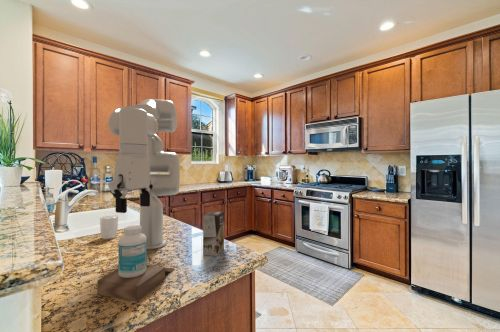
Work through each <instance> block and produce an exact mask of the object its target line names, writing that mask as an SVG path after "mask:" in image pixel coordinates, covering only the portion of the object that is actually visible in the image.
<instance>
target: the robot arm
mask: <svg viewBox="0 0 500 332" xmlns="http://www.w3.org/2000/svg"><path fill="white" fill-rule="evenodd" d="M108 117H109V118H108V125H107V126H108V129H109V131H110V132H111V134H113V135H115V136H117V137H118V136H119V138H118V139H119V141H118V142H119V143H118V144H119V147H118V148H119V149H118V150H119V154H118V155H116V159H115V160H116V161H115V163H114V164H115V165H114V174H113V179H112V180H111V181H109V182H108V184H107V186H108V189H109V190H110V194H111V195H112V196H113V199H115V213H118V214H125V213H127V211H128V207H127V205H128V200H127V199H128V198H126V196H127V194H128V193H129V191H131V192H132V191H138V195H139V226H141V228H142V231H141V233H143V234H144V235H145V236H146V240H147V246H146V249H147V251H148V250H155V249H160V248H163V247H164V246H166V245H167V240H166V239H165V238H164V233H163V231H164V205H163V202H162V201H161V200H160V198H159V196H160V197H161V196H163V197H164V196H176V195H178V193H179V192H180V183H181V182H180V181H181V180H180V175H181V174H180V171H181V170H180V169H181V167H180V158H179V155H178V154H177V153H176V152H171V151H164V141H163V140H162V139H161V137H159V135H157V133H174V132H176V130H177V129H178V115H177V109H176V104H175V103H174V102H173V101H172V100H169V99H159V98H157V99H156V98H146V99H143V100H141V102H139V104H133V105H127V106H122V107H118V108H116V109H114V110H113V111H112V112H111V113H110V115H109V116H108ZM151 173H153V174H151ZM155 173H156V174H155ZM157 173H159V174H157ZM160 173H162V174H160ZM164 173H166V174H164ZM167 173H168V174H167Z"/></svg>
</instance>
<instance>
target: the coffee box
mask: <svg viewBox="0 0 500 332" xmlns="http://www.w3.org/2000/svg"><path fill="white" fill-rule="evenodd" d="M202 217H203V219H202V221H203V222H202V225H203V227H202V228H203V229H202V255H203V256H204V255H205V256H213V257H214V256H215V257H217V256H219V254H221V253H222V251H223V250H224V249H225V211H223V210H222V211H220V210H219V211H218V210H217V211H216V210H215V211H213V210H211V211H209V212H207V213H205V214H203V216H202Z"/></svg>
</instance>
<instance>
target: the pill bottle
mask: <svg viewBox="0 0 500 332" xmlns="http://www.w3.org/2000/svg"><path fill="white" fill-rule="evenodd" d="M141 231H142V228H141V226H140V225H130V226H125V227H124V228H123V235H121V236H120V237H119V238H118V242H117V243H118V246H117V247H118V248H117V249H118V251H117V252H118V259H117V260H118V269H119V276H120V277H122V278H134V277H137V276H140V275H142V274H143V273H144V272H145V271H146V268H147V263H148V262H147V260H148V259H147V255H148V254H147V251H148V250H147V249H146V246H147V240H146V236H145V235H144V234H143V233H141Z"/></svg>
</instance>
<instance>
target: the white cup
mask: <svg viewBox="0 0 500 332" xmlns="http://www.w3.org/2000/svg"><path fill="white" fill-rule="evenodd" d="M99 227H100V235H101V236H100V237H101V239H103V240H110V239H114V238H116V237H118V230H119V229H118V228H119V216H118V215H114V214H113V215H104V216H100V217H99Z"/></svg>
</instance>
